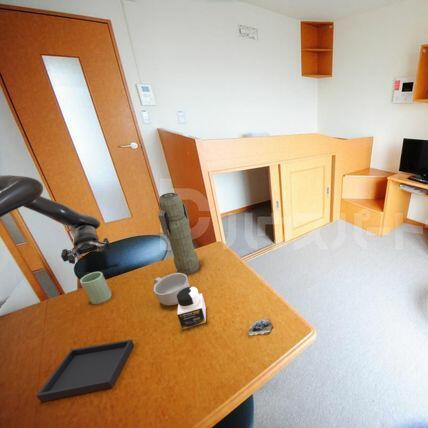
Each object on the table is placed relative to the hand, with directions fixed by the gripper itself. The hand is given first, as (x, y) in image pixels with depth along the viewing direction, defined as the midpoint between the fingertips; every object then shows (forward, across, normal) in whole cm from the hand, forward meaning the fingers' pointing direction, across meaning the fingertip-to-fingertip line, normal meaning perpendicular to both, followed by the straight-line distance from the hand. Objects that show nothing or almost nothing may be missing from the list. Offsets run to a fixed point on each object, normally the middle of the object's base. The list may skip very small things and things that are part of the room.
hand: (87, 257), depth 91 cm
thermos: (+14, +29, +13) cm, 35 cm away
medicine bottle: (+44, +22, +13) cm, 51 cm away
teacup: (+29, +20, +13) cm, 37 cm away
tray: (+44, -4, +12) cm, 46 cm away
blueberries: (+63, +37, +12) cm, 74 cm away
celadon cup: (+11, 0, +12) cm, 17 cm away
